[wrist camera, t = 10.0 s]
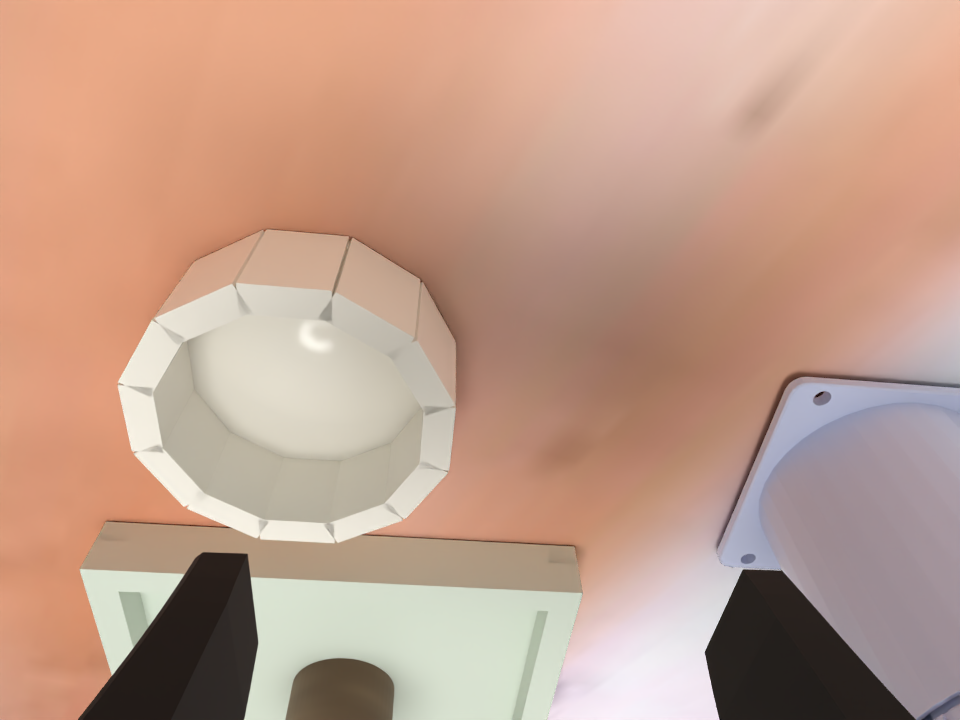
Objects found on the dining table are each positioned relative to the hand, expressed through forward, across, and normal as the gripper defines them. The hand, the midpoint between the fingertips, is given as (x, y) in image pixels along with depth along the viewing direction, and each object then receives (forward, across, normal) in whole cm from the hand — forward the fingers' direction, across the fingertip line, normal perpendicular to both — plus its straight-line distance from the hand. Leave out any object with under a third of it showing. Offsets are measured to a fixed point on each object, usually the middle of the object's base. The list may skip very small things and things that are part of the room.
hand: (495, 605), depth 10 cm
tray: (+10, +3, +18) cm, 21 cm away
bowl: (+10, +4, +3) cm, 12 cm away
